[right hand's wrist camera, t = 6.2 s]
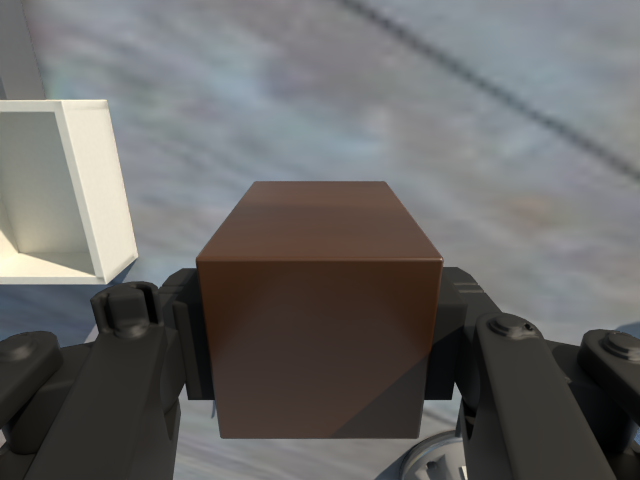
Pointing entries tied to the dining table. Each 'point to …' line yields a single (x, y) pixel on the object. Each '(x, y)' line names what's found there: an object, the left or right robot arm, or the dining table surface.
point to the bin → (55, 176)
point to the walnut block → (319, 312)
